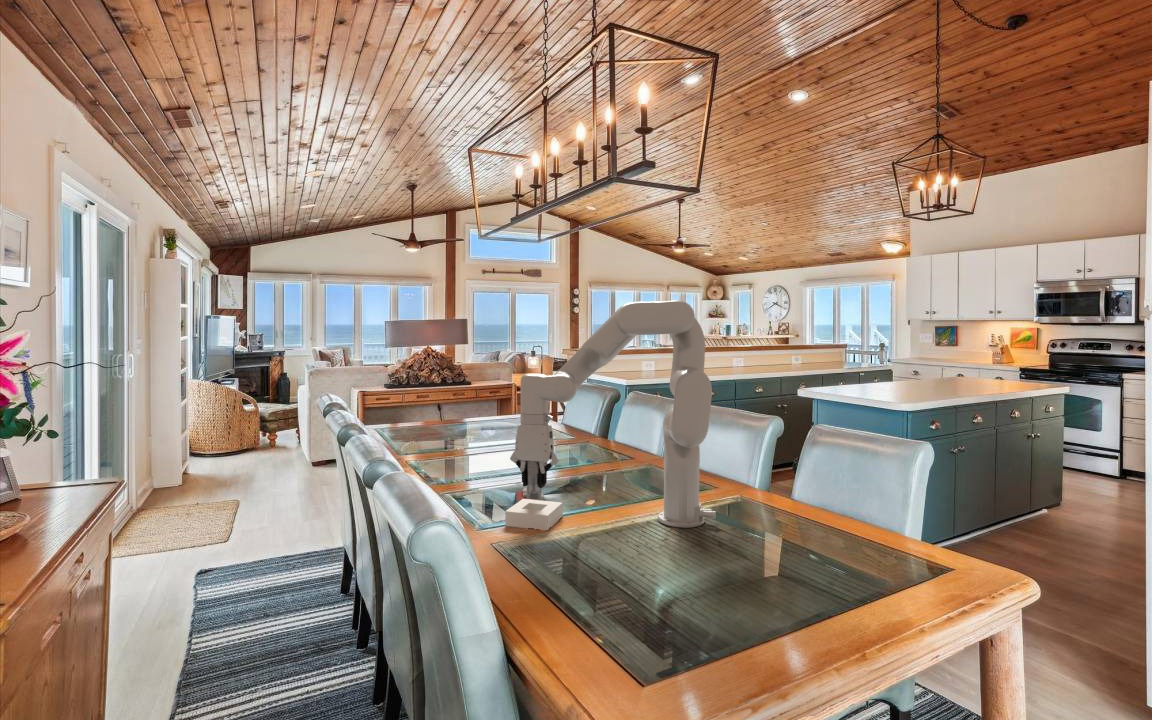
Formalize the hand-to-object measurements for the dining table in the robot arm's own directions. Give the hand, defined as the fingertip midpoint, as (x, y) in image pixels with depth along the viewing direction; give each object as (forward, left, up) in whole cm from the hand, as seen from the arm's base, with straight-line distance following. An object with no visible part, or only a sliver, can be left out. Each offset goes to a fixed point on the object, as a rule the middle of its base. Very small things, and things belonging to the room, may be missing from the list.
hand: (534, 485), depth 163 cm
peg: (0, 0, -3) cm, 3 cm away
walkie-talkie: (+8, -17, -11) cm, 22 cm away
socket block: (0, 0, -10) cm, 10 cm away
